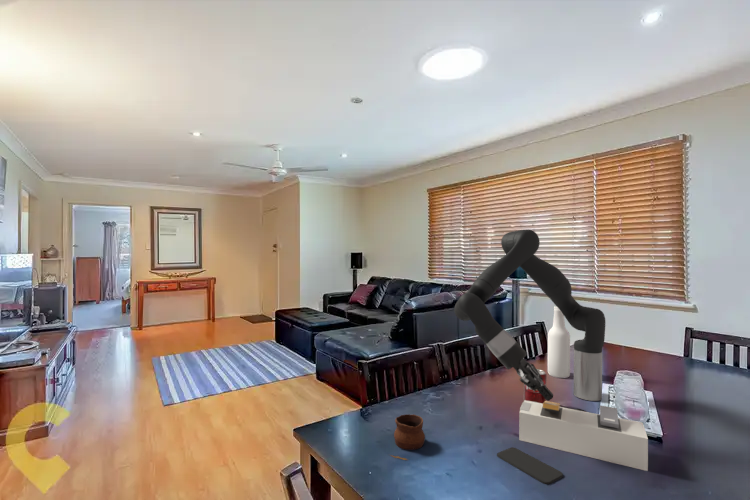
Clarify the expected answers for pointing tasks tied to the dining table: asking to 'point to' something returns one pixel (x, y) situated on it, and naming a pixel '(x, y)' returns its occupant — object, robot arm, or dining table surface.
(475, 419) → the dining table surface
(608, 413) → the grey rocker
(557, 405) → the amber rocker
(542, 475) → the phone
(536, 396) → the soda can
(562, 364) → the alcohol
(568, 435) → the switch console
